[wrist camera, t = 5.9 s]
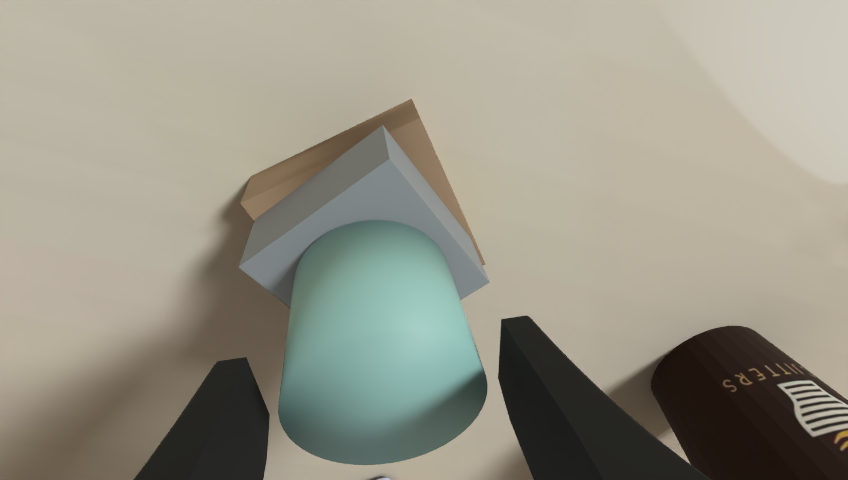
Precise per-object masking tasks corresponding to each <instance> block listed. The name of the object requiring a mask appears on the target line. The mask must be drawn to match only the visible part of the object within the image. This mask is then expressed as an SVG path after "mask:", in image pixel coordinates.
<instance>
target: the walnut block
mask: <svg viewBox="0 0 848 480" xmlns="http://www.w3.org/2000/svg"><path fill="white" fill-rule="evenodd" d="M382 125H383V126H384V127H385V128H386V130H387V131H388V132H389V134H390V135H391V136H392V137H393V139H394V140H395V141H396V143H397V144H398V145H399V146H400V148H401V149H402V150H403V152H404V153H405V154H406V155H407V157H408V158H409V159H410V161H411V162H412V163H413V164H414V166H415V167H416V168H417V170H418V171H419V172H420V173H421V175H422V176H423V177H424V179H425V180H426V181H427V182H428V184H429V185H430V186H431V188H432V189H433V190H434V191H435V193H436V194H437V195H438V197H439V198H440V199H441V200H442V202H443V203H444V204H445V206H446V207H447V208H448V209H449V211H450V212H451V213H452V215H453V216H454V217H455V219H456V220H457V221H458V222H459V224H460V225H461V226H462V228H463V229H464V230H465V231H466V233H467V234H468V235H469V237H470V238H471V240H472V243H473V245H474V247H475V250H476V252H477V254H478V257H479V259H480V261H481V264H482V265H485V262H484V260H483V258H482V256H481V253H480V251H479V249H478V246H477V244H476V242H475V240H474V237H473V235H472V233H471V231H470V228H469V226H468V224H467V222H466V219H465V217H464V215H463V213H462V210H461V208H460V206H459V204H458V202H457V199H456V197H455V195H454V193H453V190H452V188H451V186H450V184H449V181H448V179H447V177H446V175H445V172H444V170H443V168H442V166H441V164H440V161H439V159H438V157H437V155H436V152H435V150H434V148H433V146H432V143H431V141H430V139H429V137H428V134H427V132H426V130H425V128H424V125H423V123H422V121H421V119H420V117H419V114H418V112H417V110H416V108H415V105H414V103H413V101H412V99H410V100H408V101H406V102H404V103H402V104H400V105H398V106H396V107H394V108H392V109H390V110H387V111H385V112H383V113H381V114H379V115H377V116H375V117H373V118H371V119H369V120H367V121H365V122H363V123H361V124H359V125H356V126H354V127H352V128H350V129H348V130H346V131H344V132H342V133H340V134H338V135H336V136H334V137H332V138H330V139H328V140H325V141H323V142H321V143H319V144H317V145H315V146H313V147H311V148H309V149H307V150H305V151H303V152H301V153H299V154H297V155H294V156H292V157H290V158H288V159H286V160H284V161H282V162H280V163H278V164H276V165H274V166H272V167H270V168H268V169H266V170H263V171H261V172H259V173H257V174H255V175H253V176H251V178H250V180H249V183H248V185H247V188H246V190H245V193H244V195H243V198H242V200H241V202H240V204H241V205H242V207H243V208H244V209H245V210H246V212H247V213H248V214H249V215H250V217H251V218H252V219H253V220H255V219H256V218H258V217H259V216H260V215H262V214H263V213H264V212H266V211H267V210H268V209H270V208H271V207H272V206H274V205H275V204H276V203H278V202H279V201H281V200H282V199H283V198H285V197H286V196H287V195H289V194H290V193H291V192H293V191H294V190H295V189H297V188H298V187H299V186H301V185H302V184H303V183H305V182H306V181H308V180H309V179H310V178H312V177H313V176H314V175H316V174H317V173H318V172H320V171H321V170H322V169H324V168H325V167H326V166H328V165H329V164H330V163H332V162H333V161H335V160H336V159H337V158H339V157H340V156H341V155H343V154H344V153H345V152H347V151H348V150H349V149H351V148H352V147H353V146H355V145H356V144H357V143H359V142H360V141H361V140H363V139H364V138H365V137H367V136H368V135H370V134H371V133H372V132H374V131H375V130H376V129H378V128H379V127H380V126H382Z"/></svg>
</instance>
